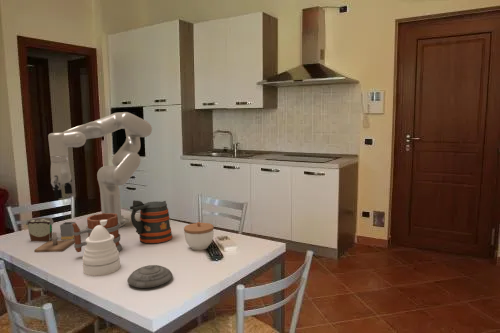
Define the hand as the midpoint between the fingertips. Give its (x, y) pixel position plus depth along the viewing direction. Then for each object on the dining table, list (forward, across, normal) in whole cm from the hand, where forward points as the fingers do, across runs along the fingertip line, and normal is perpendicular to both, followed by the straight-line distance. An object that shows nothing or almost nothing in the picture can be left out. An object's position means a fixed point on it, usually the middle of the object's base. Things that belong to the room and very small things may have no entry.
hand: (63, 195), depth 179 cm
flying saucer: (+21, +50, +53) cm, 75 cm away
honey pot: (+20, +38, +31) cm, 54 cm away
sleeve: (+20, 0, 0) cm, 20 cm away
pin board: (+20, +13, +1) cm, 24 cm away
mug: (+20, +21, +23) cm, 37 cm away
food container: (+20, +2, -10) cm, 23 cm away
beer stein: (+21, +6, +42) cm, 47 cm away
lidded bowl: (+21, +17, +65) cm, 70 cm away
